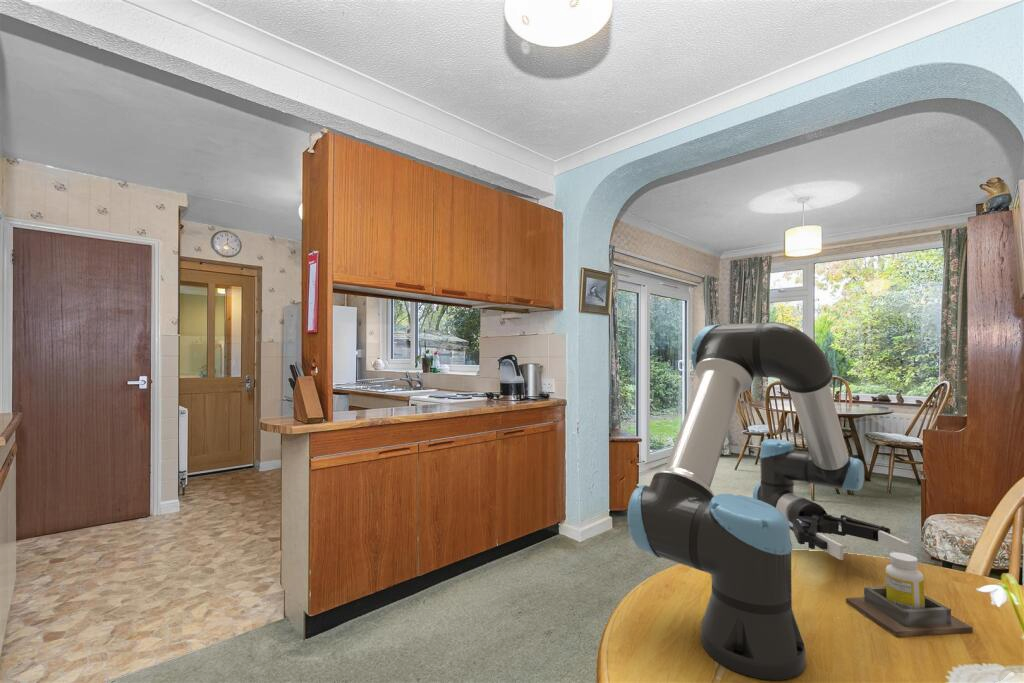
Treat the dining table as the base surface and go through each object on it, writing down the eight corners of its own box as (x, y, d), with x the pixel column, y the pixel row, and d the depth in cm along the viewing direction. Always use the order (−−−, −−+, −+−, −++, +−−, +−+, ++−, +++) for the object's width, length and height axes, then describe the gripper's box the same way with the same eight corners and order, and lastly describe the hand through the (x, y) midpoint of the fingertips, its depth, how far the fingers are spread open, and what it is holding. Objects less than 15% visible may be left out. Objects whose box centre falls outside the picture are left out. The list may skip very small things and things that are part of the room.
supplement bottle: (910, 604, 90) (908, 550, 91) (933, 620, 85) (931, 563, 85) (879, 603, 91) (878, 550, 91) (900, 619, 85) (898, 562, 86)
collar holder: (896, 636, 82) (895, 616, 82) (846, 602, 93) (845, 584, 93) (972, 631, 83) (972, 612, 83) (914, 598, 94) (914, 581, 94)
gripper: (851, 528, 117) (934, 567, 96) (752, 531, 115) (813, 573, 94) (851, 496, 117) (933, 529, 96) (751, 500, 115) (813, 534, 94)
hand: (874, 551), depth 95 cm, fingers open, 13 cm apart
